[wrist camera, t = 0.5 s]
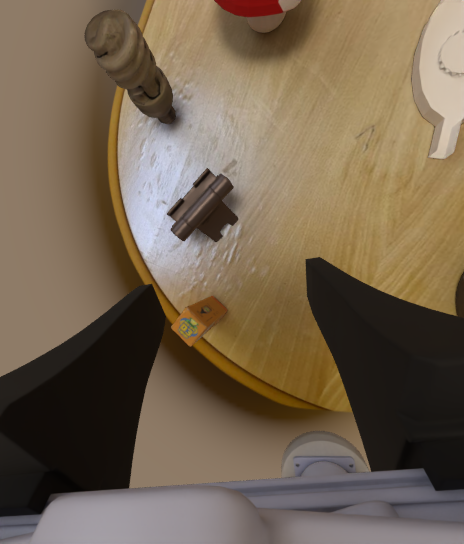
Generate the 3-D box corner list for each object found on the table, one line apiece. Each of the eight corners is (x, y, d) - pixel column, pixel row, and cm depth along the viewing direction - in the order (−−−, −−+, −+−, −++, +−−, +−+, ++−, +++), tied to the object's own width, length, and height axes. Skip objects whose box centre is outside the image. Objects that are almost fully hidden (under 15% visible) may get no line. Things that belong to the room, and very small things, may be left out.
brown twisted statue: (195, 109, 37) (138, 2, 22) (178, 144, 37) (112, 61, 23) (164, 96, 38) (90, -17, 23) (148, 129, 38) (66, 40, 23)
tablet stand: (211, 171, 36) (191, 143, 28) (249, 207, 35) (240, 188, 27) (172, 216, 38) (142, 201, 29) (207, 252, 36) (186, 247, 28)
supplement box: (197, 311, 37) (167, 326, 27) (212, 294, 36) (187, 303, 27) (213, 327, 36) (189, 348, 27) (229, 310, 36) (209, 325, 26)
